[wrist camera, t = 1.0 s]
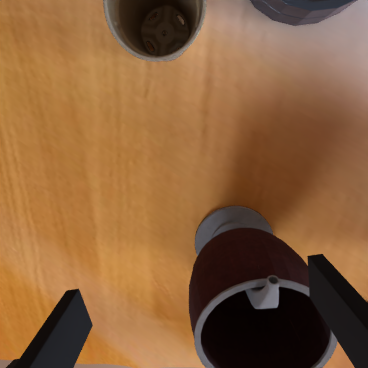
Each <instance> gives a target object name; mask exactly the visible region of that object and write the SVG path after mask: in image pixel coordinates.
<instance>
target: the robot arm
mask: <svg viewBox="0 0 368 368" xmlns="http://www.w3.org/2000/svg"><path fill="white" fill-rule="evenodd" d="M308 275H309V297H310V299H311V300H312V302H313V303H314V305H315V306H316V308H317V309H318V311H319V313H320V314H321V316H322V317H323V319H324V320H325V322H326V323H327V325H328V326H329V328H330V330H331V331H332V333H333V334H334V336H335V337H336V339H337V340H338V342H339V344H340V345H341V347H342V348H343V350H344V351H345V353H346V354H347V356H348V358H349V359H350V361H351V362H352V364H353V365H354V367H355V368H368V303H367V302H366V301H365V300H364V299H363V298H362V296H361V295H360V294H359V293H358V292H357V291H356V290H355V289H354V288H353V287H352V286H351V285H350V284H349V282H348V281H347V280H346V279H345V278H344V277H343V276H342V275H341V274H340V273H339V272H338V271H337V269H336V268H335V267H334V266H333V265H332V264H331V263H330V262H329V261H328V260H327V259H326V258H325V257H324V255H323V254H318V255H311V256H308ZM92 326H93V325H92V322H91V319H90V317H89V314H88V311H87V309H86V306H85V304H84V301H83V298H82V296H81V293H80V291H79V289H74V290H67V291H66V292H65V294H64V295H63V296H62V298H61V299H60V301H59V302H58V304H57V305H56V307H55V308H54V310H53V311H52V312H51V314H50V315H49V317H48V318H47V320H46V321H45V323H44V324H43V326H42V327H41V328H40V330H39V331H38V333H37V334H36V336H35V337H34V339H33V340H32V342H31V343H30V344H29V346H28V347H27V349H26V350H25V352H24V353H23V355H22V356H21V358H20V359H15V360H13V361H12V362H11V363H10V364H9V365H8V366H7V367H6V368H73V367H74V365H75V363H76V361H77V359H78V356H79V354H80V352H81V350H82V348H83V345H84V343H85V341H86V339H87V337H88V334H89V332H90V330H91V328H92Z"/></svg>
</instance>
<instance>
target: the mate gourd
mask: <svg viewBox="0 0 368 368" xmlns="http://www.w3.org/2000/svg"><path fill="white" fill-rule="evenodd" d="M195 249H196V253H197V256H198V257H197V259H196V261H195V264H194V267H193V271H192V275H191V280H190V284H189V314H190V320H191V326H192V331H193V335H194V339H195V348H196V351H197V355H198V357H199V358H200V360H201V362H202V364H203V365H204V366H205V367H206V368H322V367H323V366H324V365H325V364H326V363H327V362H328V360H329V359H330V358H331V356H332V354H333V352H334V350H335V348H336V346H337V341H338V340H337V339H336V337H335V336H334V334H333V333H332V331H331V330H330V328H329V326H328V325H327V323H326V322H325V320H324V319H323V317H322V316H321V314H320V313H319V311H318V309H317V308H316V306H315V305H314V303H313V302H312V300H311V299H310V297H309V275H308V266H307V264H306V263H305V262H304V260H303V259H302V258H301V257H300V256H299V255H298V254H297V253H296V252H295V251H294V250H293V249H292V248H291V247H290V246H288V245H287V244H286V243H285V242H284V241H282V240H281V239H279V238H277V237H276V236H274V235H273V232H272V229H271V227H270V225H269V224H268V222H267V221H266V219H265V218H264V217H263V216H262V215H261V214H259V213H258V212H256V211H255V210H252V209H250V208H247V207H242V206H228V207H223V208H221V209H218V210H215V211H214V212H212V213H211V214H209V215H208V216H207V217H206V218H205V219H204V220H203V221H202V222H201V224H200V225H199V227H198V229H197V232H196V236H195Z"/></svg>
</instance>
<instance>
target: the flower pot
mask: <svg viewBox="0 0 368 368" xmlns="http://www.w3.org/2000/svg"><path fill="white" fill-rule="evenodd" d="M103 4H104V12H105V17H106V21H107V23H108V26H109V28H110V30H111V32H112V34H113V36H114V37H115V39H116V40H117V41H118V43H119V44H120V45H121V46H122V47H123V48H124V49H125V50H126V51H128V52H129V53H130V54H132V55H134V56H135V57H138V58H140V59H143V60H147V61H171V60H174V59H176V58H178V57H179V56H180V55H182V53H183V52H184V51H185V50H186V49H187V48H188V47H189V46H190V45H191V44H192V43H193V42H194V40H195V39H196V37H197V36H198V34H199V32H200V30H201V27H202V25H203V22H204V18H205V13H206V0H103ZM155 13H158V15H156V16H155V19H154V18H153V19H152V20H151V19H150V18H151V16H152V15H153V14H155ZM177 15H180V16H181V17H182V18H183V20H184V25H182V23H181V22H180V20H179V19H178V17H177ZM164 31H166V32H167V34H166V35H165V34H163V32H164ZM147 42H150V43H151V45H152V46H153V48H154V51H151V50H150V49H149V46H148V45H147ZM178 47H180V49H178V50H177V51H175V50H176V49H177V48H178ZM173 51H175V52H173ZM172 52H173V53H172Z"/></svg>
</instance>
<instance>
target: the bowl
mask: <svg viewBox="0 0 368 368" xmlns="http://www.w3.org/2000/svg"><path fill="white" fill-rule="evenodd" d="M250 1H251V2H252V4H253V5H254V7H255V8H256V9H258V10H259V11H261V12H262V13H263V14H265V15H266V16H268V17H269V18H270V19H272V20H274V21H278V22H282V23H286V24H289V25H293V26H294V25H295V26H297V25H306V24H315V23H319V22H321V21H323V20H325V19H327V18H329V17H331V16H334V15H336V14H338V13H340V12H341V11H343V10H344V9H346V8H347V7H348V6H350V5H351V4H353V3H354V2H356V1H357V0H250Z"/></svg>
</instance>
